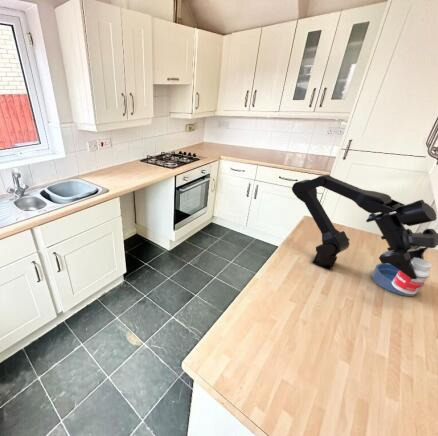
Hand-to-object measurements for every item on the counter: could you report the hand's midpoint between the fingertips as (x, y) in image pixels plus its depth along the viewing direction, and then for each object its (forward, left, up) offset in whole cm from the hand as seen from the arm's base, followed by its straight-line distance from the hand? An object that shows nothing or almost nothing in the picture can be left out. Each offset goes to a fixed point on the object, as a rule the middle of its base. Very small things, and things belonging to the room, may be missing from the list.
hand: (419, 275), depth 76 cm
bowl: (-2, +12, -13) cm, 18 cm away
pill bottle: (-1, 0, -7) cm, 7 cm away
